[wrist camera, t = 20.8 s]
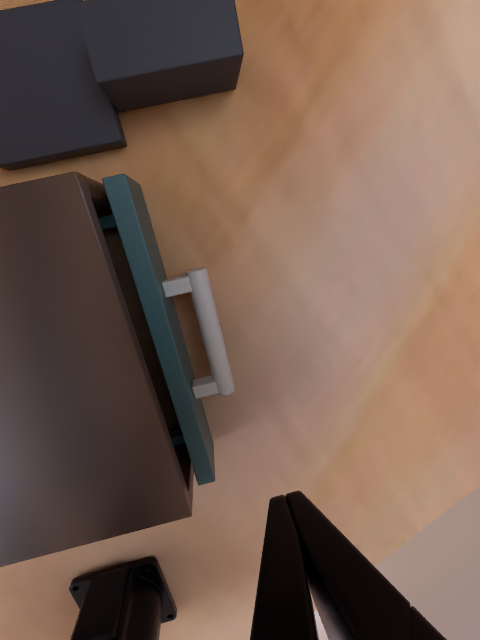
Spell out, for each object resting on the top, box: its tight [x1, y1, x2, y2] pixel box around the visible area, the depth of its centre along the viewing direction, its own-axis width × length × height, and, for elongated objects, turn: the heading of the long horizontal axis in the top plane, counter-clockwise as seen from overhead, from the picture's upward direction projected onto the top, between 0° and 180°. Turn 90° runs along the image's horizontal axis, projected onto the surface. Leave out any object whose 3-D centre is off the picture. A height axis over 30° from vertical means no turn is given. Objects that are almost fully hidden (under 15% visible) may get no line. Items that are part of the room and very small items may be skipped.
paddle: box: [0, 0, 244, 170], centre depth 13 cm, size 6×12×3 cm, turn 102°
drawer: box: [98, 174, 235, 485], centre depth 16 cm, size 19×17×3 cm
